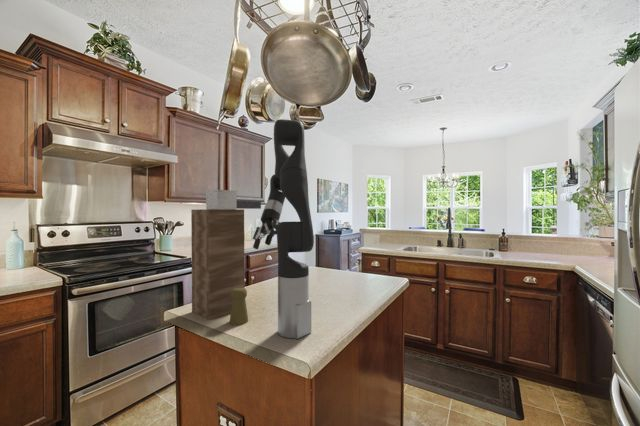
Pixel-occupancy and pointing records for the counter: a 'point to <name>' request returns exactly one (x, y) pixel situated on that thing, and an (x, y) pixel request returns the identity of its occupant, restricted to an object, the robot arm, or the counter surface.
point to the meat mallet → (228, 201)
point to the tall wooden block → (216, 259)
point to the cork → (238, 307)
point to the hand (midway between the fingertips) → (261, 246)
